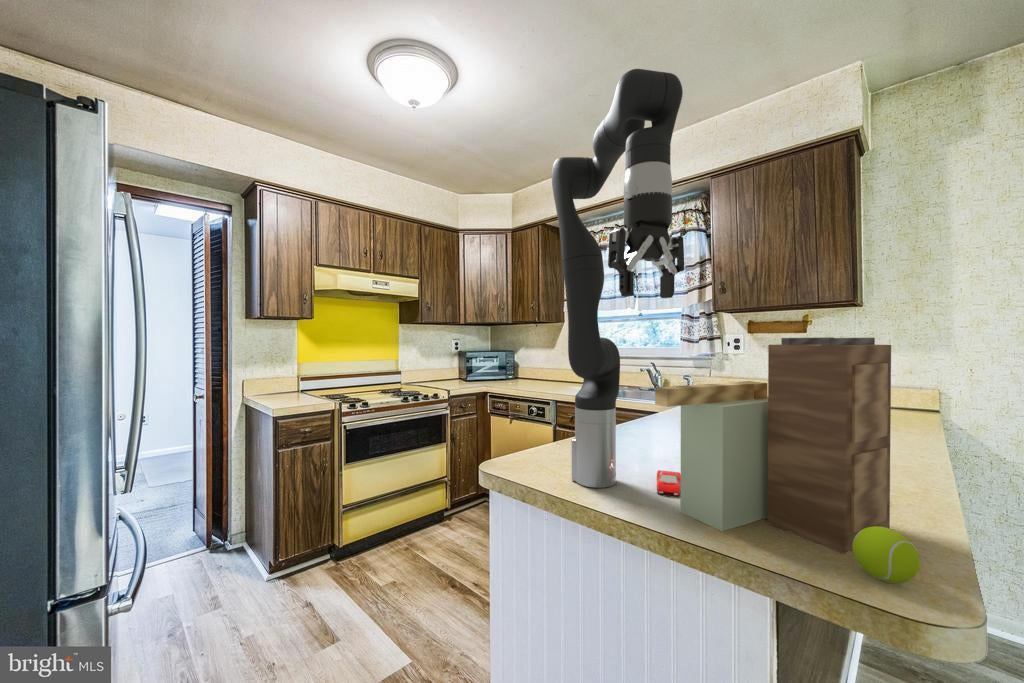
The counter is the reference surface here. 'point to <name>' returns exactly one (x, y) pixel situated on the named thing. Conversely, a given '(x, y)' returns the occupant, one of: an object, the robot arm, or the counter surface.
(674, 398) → the wooden plank
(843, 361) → the wooden cabinet
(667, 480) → the toy car
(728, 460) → the tall sage green block
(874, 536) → the tennis ball
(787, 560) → the counter surface
